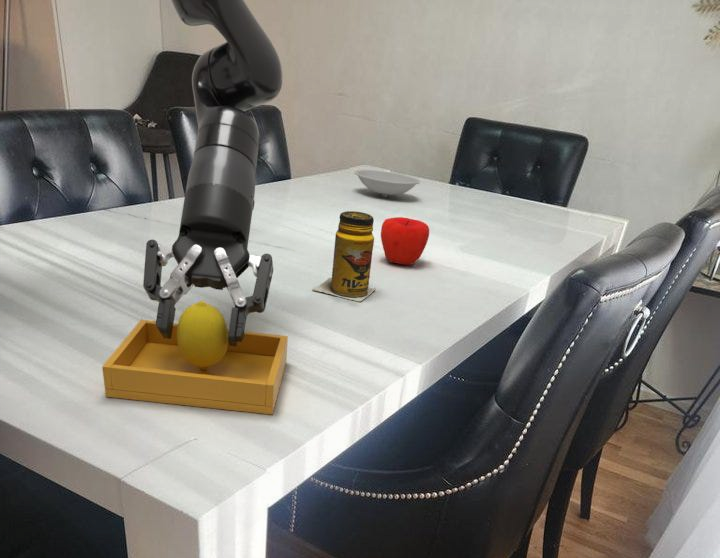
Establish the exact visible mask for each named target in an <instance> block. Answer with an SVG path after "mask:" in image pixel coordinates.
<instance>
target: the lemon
mask: <svg viewBox="0 0 720 558" xmlns="http://www.w3.org/2000/svg"><path fill="white" fill-rule="evenodd" d="M177 324H178V326H177V342H178V347H179V350H180V352H181V354H182V356H183V357H184V358H185V359H186V360H187V361H188V362H189V363H191V364H193V365H195V366H198V367H199V368H200V369H201V370H206V369H207V368H208V367H209V366H213V365H215V364H217V363H218V362H219V361H220V360H221V359H222V358H223V356H224V355H225V353H226V350H227V346H228V330H227V329H228V326H227V322H226V320H225V317H224V316H223V314H222V313H221V311H220V310H219V309H217V308H216V307H215V306H213V305H211V304H208V303H207V302H206V301H204V300H199V301H197V303H193V304H192V305H190V306H188V307H187V308H186V309H184V310H183V311H182V313H181V314H180V316H179V319H178V322H177Z"/></svg>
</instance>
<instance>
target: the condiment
mask: <svg viewBox="0 0 720 558" xmlns="http://www.w3.org/2000/svg"><path fill="white" fill-rule="evenodd" d="M374 219H375V218H374V217H373V215H371V214H369V213H367V212H362V211H356V210H355V211H354V210H352V211H351V210H347V211H343V212H341V213H340V214H339V222H338V225H337V230H336V232H335V236H334V247H333V258H332V259H333V260H332V271H331V277H328V278H327V279H325V280H324V281H323V282H322V283H320V284H319V285H317V286H315V287H314V288H312V289H311V291H316V292H319V293H324V294H327V295H328V294H329V295H332V296H335V297H338V298H343V299H347V300H350V301H355V302H362V301H363V300H365V299H366V298H368V297H369V296H370V295H371V294H372V293H373V292H374V291H375V290H377V288H374V287H369V286H370V278H371V275H370V274H371V269H372V259H373V251H374V244H375V236H374V234H373V231H374V223H375V222H374Z"/></svg>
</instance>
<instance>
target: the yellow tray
mask: <svg viewBox="0 0 720 558" xmlns="http://www.w3.org/2000/svg"><path fill="white" fill-rule="evenodd" d="M177 326H178V323H175V322H174V324H173V330H172V337H171V339H166V338H163V336H162V334H161V333H160V332H159V330H158V328H157V326H156V320H149V319H140V320H139V321H138V323H137V324H136V325H135V326H134V327H133V329H131V331H130V332H129V333H128V335H127V336H126V337H125V338H124V339H123V341H122V342H121V343H120V344H119V345H118V347H116V349H115V350H114V352H113V353H112V354H111V355H110V356H109V358H108V359H107V360H106V361H105V363H104V364H102V367H101V369H102V376H103V377H102V378H103V384H104V392H105V397H107V398H115V399H123V400H132V401H140V402H141V401H142V402H152V403H161V404H171V405H179V406H189V407H199V408H207V409H215V410H216V409H217V410H225V411H226V410H227V411H236V412H243V413H244V412H245V413H254V414H262V415H274V410H275V406H276V403H277V399H278V396H279V392H280V389H281V384H282V381H283V376H284V373H285V368H286V365H287V360H288V359H287V355H288V341H289V340H288V339H289V335H283V334H282V335H280V334H271V333H264V332H263V333H262V332H253V331H247V330H245V332H244V338H243V340H242V342H237V346H236V347H235V346H230V345H229V342H228V346H227V350H226V353H225V355H224V356H223V358H222V359H221V360H220V361H219V362H218V363H217V364H215V365H213V366H209V367H208V368H207V369H206V370H201V369H200V368H199V367H198V366H195V365H193V364H191V363H189V362H188V361H187V360H186V359H185V358H184V357H183V356H182V354H181V352H180V350H179V347H178V342H177ZM227 330H228V334H229V328H227Z"/></svg>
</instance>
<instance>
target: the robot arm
mask: <svg viewBox="0 0 720 558" xmlns="http://www.w3.org/2000/svg"><path fill="white" fill-rule="evenodd" d="M170 1H171V3H172V6H173V8H174V9H175V12H176V14H177V15H178V17H179V19H180V20H181V21H182V22H183V24H185V25H187V26H189V27H197V26H205V25H210V26H213V27H214V28H215V30H217V31H218V32H219V34H220V35H221V36H222V37H223V38H224V40H225V41H226V42H224V43H221V44H219V45H217V46H215V47H212V48H211V49H208V50H206V51H205V52H203V53H202V54H201V55H200V56H199V57H198V59H197V61H196V63H195V64H194V67H193V70H192V74H191V86H192V94H193V100H194V107H195V108H194V109H195V116H196V124H197V133H196V138H195V144H194V152H193V157H192V161H191V165H190V167H189V171H188V174H187V175H188V176H187V181H186V187H185V193H184V199H183V200H184V201H183V206H182V213H181V219H180V225H179V231H178V237H177V238H176V240H174V243H173V244H159V243H158V241H157V240H155V239H149V240H147V242H146V244H145V245H146V246H145V257H144V269H143V270H144V271H143V283H142V287H143V289H144V291H145V292H146V294H147V296H148V298H149V299H150V300H151V301H156V302H158V306H157V313H156V319H155V321H156V326H157V328H158V330H159V332H160V333H161V334H162V336H163V338H166V339H171V337H172V330H173V324H174V323H175V317H176V310H177V309H176V307H175V306H176V304H177V303H179V301H180V300H181V298H183V296H184V295H187V294H188V293H189V291H190V290H191V289H192V288H193V287H194V288H199V289H200V288H201V289H203V288H211V289H214V290H218V291H223V290H224V289H226V290H227V292H228V295H229V296H230V299H231V300H232V303H233V305H234V307H233V306H232V307H231V312H230V319H229V327H228V329H229V334H228V342H229V345H230V346H235V347H236V346H237V342H242V340H243V338H244V332H245V331H246V325H247V317H248V316H249V315H250V314H253V313H258V314H262V313H264V312H265V310H266V306H267V302H268V297H269V292H270V289H271V288H270V287H271V283H272V278H273V275H274V274H273V273H274V262H273V257H272V255H271V254H270V253H264V254H262V255H261V256H259V255H253V254H250V252H249V250H248V248H249V239H250V233H251V232H250V231H251V224H252V219H253V218H252V217H253V211H254V208H255V202H256V201H255V195H256V172H257V171H256V170H257V164H258V155H259V148H260V131H259V128H258V124H257V123H256V121H255V120H254V118H253V117H252V116H251V115H250V114H248V113H247V112H246V111H248V110H251V109H254V108H256V107H259V106H262V105H264V104H267V103H270V102H272V101H273V100H275V99H276V98H277V97H278V95H279V94H280V92H281V89H282V86H283V68H282V67H283V66H282V63H281V59H280V57H279V54H278V52H277V49H276V48H275V46H274V44H273V43H272V41H271V39H270V38H269V36H268V35H267V33H266V32H265V30H264V29H263V27H262V26H261V25H260V23H259V22H258V19H256V17H255V15H254V13H252V10H251V9H250V7H249V6H248V4H247V3H246V1H245V0H170ZM173 258H174V260H175V261H176V263H177V265H176V267H175V268H174V269H173V270H172V271H171V272H170V276H169V278H168V279H167V281H166V282H165V283H164V285H162V272H163V267H166V266H167V265H168V262H169V260H170V259H173ZM248 268H252V272H253V276H254V277H255V278H256V279H255V284H254V289H253V293H252V295H251V296H245V294H244V292H243V290H242V287H241V285H240V283H239V280H238V278H239V277H240V276H242V274H244V273H245V271H246V270H247V269H248Z"/></svg>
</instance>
